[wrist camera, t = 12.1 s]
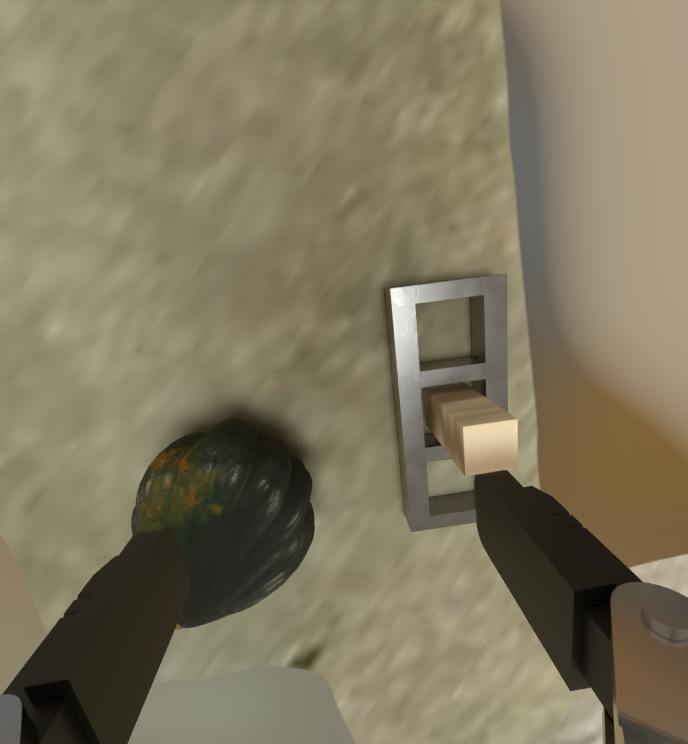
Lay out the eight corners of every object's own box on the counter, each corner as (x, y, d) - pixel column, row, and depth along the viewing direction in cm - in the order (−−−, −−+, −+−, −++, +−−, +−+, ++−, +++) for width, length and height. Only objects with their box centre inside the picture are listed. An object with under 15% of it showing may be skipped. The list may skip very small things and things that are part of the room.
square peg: (423, 387, 35) (462, 426, 25) (462, 381, 35) (517, 419, 25) (426, 424, 36) (465, 476, 26) (464, 418, 36) (517, 468, 26)
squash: (304, 393, 28) (117, 536, 18) (365, 533, 33) (243, 714, 22) (216, 399, 38) (59, 495, 27) (272, 507, 42) (155, 625, 32)
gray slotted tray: (384, 288, 32) (390, 288, 29) (490, 274, 32) (506, 273, 30) (404, 513, 38) (411, 532, 35) (494, 500, 38) (508, 517, 35)
